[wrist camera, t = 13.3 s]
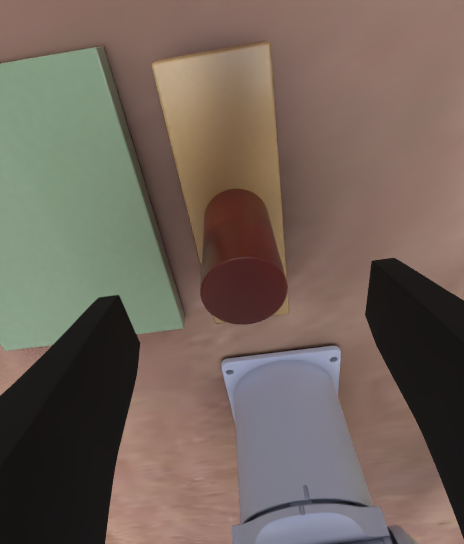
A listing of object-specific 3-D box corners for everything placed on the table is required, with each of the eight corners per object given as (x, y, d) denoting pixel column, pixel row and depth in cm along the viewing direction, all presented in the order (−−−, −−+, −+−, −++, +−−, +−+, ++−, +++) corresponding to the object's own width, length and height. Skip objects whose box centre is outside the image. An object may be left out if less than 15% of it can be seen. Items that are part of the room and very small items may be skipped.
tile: (185, 316, 21) (184, 328, 20) (12, 339, 22) (4, 351, 21) (103, 45, 13) (96, 47, 12) (-174, 92, 13) (-198, 97, 13)
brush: (261, 37, 13) (303, 54, 7) (280, 280, 20) (310, 398, 14) (161, 55, 13) (114, 87, 7) (215, 290, 20) (215, 410, 14)
